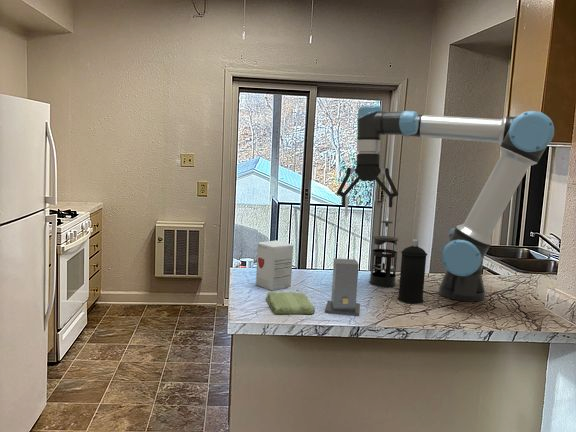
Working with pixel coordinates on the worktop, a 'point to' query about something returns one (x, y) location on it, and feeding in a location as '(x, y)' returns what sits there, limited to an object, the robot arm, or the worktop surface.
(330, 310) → the post base
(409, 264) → the aerosol can
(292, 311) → the washcloth
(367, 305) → the worktop surface
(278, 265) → the supplement box
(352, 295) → the grey block
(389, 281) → the french press
